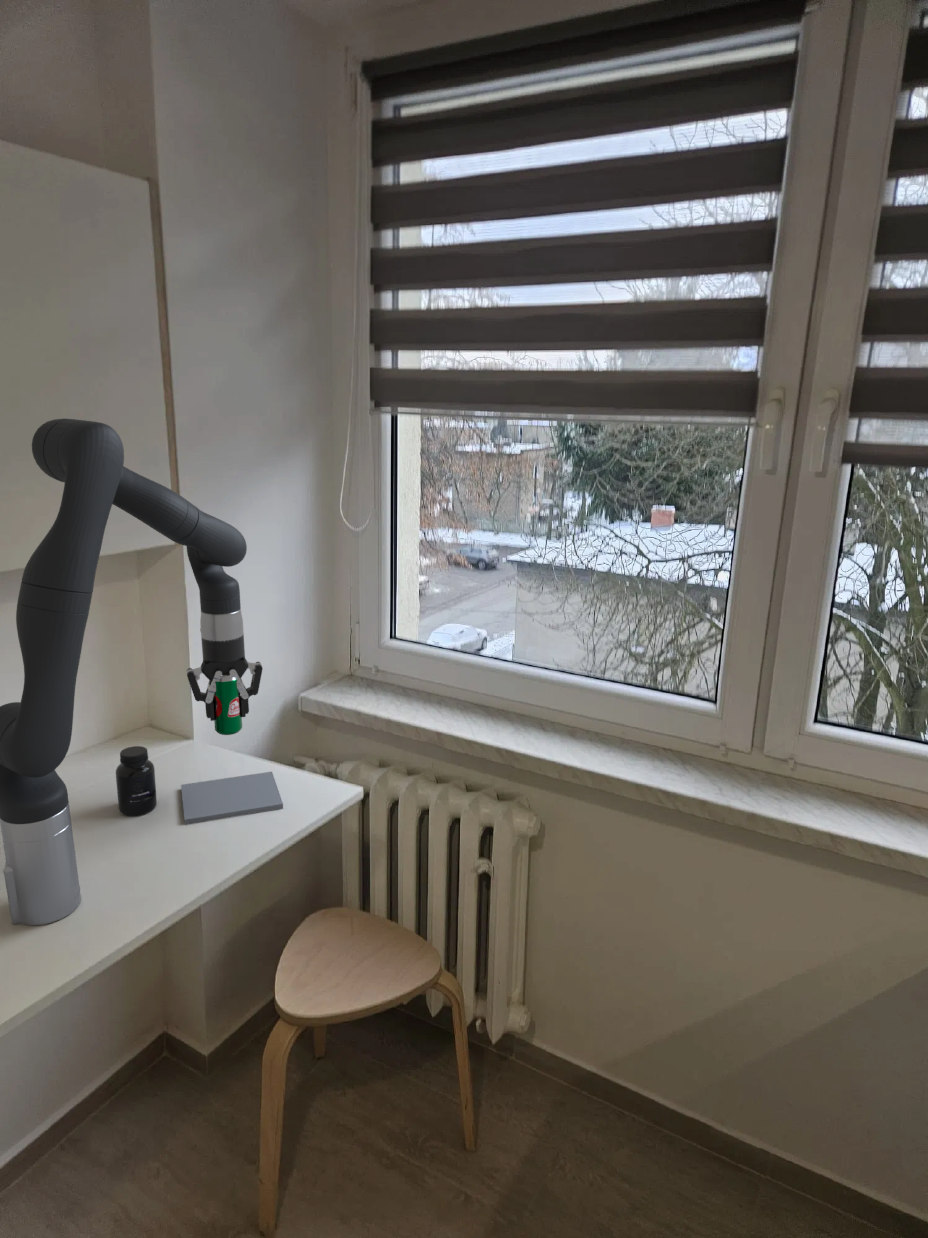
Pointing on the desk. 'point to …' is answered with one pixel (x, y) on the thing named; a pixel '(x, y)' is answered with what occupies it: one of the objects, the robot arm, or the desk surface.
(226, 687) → the soda can
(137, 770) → the supplement bottle
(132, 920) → the desk surface
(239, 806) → the slate gray mat
